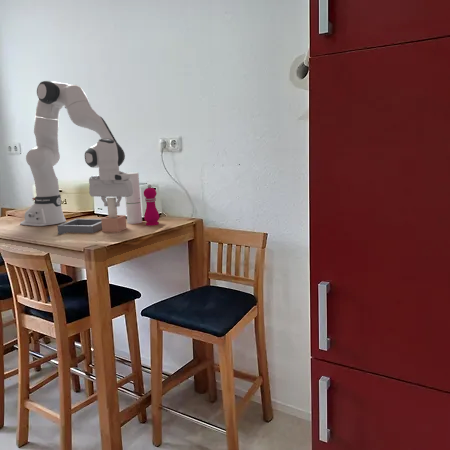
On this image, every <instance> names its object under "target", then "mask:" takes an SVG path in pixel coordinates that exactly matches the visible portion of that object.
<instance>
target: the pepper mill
mask: <svg viewBox="0 0 450 450" xmlns="http://www.w3.org/2000/svg"><path fill="white" fill-rule="evenodd" d="M157 194H158V193H157V190H156V189H155V188H154V187H152V185H151V184H148V185H147V188H145V189H144V190H143V197H144V199H145V201H144V202H146V206H145V207H146V208H145V211H144V214H143V215H144V216H143V219H144V220H145V226H149V227H151V226H152V227H153V226H158V225H160V222H159V220H160V214H159V211H158V209H157V207H156V201H157V200H156V196H157Z"/></svg>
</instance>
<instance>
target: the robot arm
mask: <svg viewBox="0 0 450 450" xmlns="http://www.w3.org/2000/svg"><path fill="white" fill-rule="evenodd" d="M36 96H37V99H38V101H37V105H36V108H35V112H34V113H35V117H34V125H33V126H34V127H33V128H34V129H33V133H34V134H33V135H34V137H35V142H36V145H35V147H32V148H31V149H29V150H28V152H27V153H26V155H25V161H26V163H27V165H28V166H29V168H30V172H31V174H32V176H33V181H34V186H35V187H34V188H35V193H36V195H35V197H32V201H34V202H33V204H32V205H31V206H30V207H29V208H28V209H27V210H26V211H25V212H24V220H22V221H20V225H24V226H33V227H34V226H35V227H44V226H50V225H60V224H63V223H66V222H67V219H66V217H65V215H64V212H63V208H62V207H63V206H62V196H61V194H60V187H59V179H58V177H57V175H56V173H55V169H54V166H56V165H57V163H58V162H59V160H60V157H61V154H60V152H59V149H60V148H59V141H58V140H59V138H58V137H59V135H58V133H59V122H60V111H61V109H62V108H65V109H66V112H67V115H68V118H69V119H70V120H71V122H72V123H73V124H74V125H76V126H77V127H80V128H84V129H88V130H91V131H93V132H95V133H96V134H98V135H99V137H100V138H99V139H98V140H97V142H96V143H95V144H94V145H93V146H90V147H88V148H87V149H86V150H85V152H84V161H85V164H87V166H88V167H90V168H93V169H97V168H98V174H99V175H92V176H91V177H89V178H88V185H89V187H88V188H89V189H88V190H89V192H88V193H89V195H90V197H100V198H101V200H102V202H103V205H104V207H108V206H107V198H109V197H116V203H115V207H118V208H119V207H120V206H121V205H120V204H121V200H122V198H123V197H124V198H125V197H129V196H132V194H133V188H132V183H131V181H130V180H129V179H130V175H129V174H127V173H128V172H123V171H121V170H120V166H122V164H123V163H124V161H125V159H126V155H125V152H124V149H123V148H122V147H121V145H120V144H119V143H118V142H117V139H116V138H115V136H114V135H113V133H112V131H111V128H109V126H108V124H107V123H106V121H105V119H104V118H103V117H102V116H101V115H99V114H98V113H97V112H96V111H95V110H94V109H93V107H92V106H91V103H90V101H89V98H88V96H87V94H86V92H85V90H83V88H82V87H81V86H80V85H77V84H70V83H69V84H68V83H65V82H59V81H51V80H42V81H41V82H39V83H38V85H37V88H36Z"/></svg>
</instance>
